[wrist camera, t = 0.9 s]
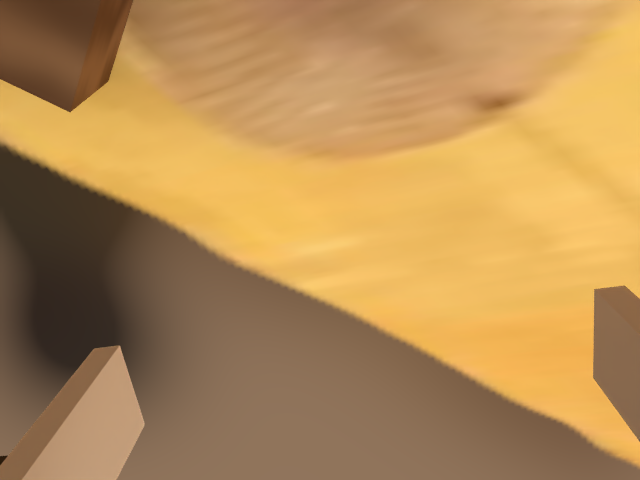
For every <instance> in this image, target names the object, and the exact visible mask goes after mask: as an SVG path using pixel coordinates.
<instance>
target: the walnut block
mask: <svg viewBox="0 0 640 480" xmlns="http://www.w3.org/2000/svg"><path fill="white" fill-rule="evenodd" d="M132 2H133V0H0V79H1V80H4V81H6V82H8V83H10V84H12V85H14V86H16V87H18V88H20V89H22V90H25V91H27V92H29V93H31V94H33V95H35V96H37V97H39V98H41V99H43V100H46V101H48V102H50V103H52V104H54V105H56V106H58V107H60V108H62V109H64V110H67V111H69V112H71V111H72V110H73V109H75V108H76V107H77V106H78V105H80V104H81V103H82V102H83V101H85V100H86V99H87V98H88V97H89V96H91V95H92V94H93V93H94V92H96V91H97V90H98V89H99V88H101V87H102V86H103V85H104V84H105V83H107V82H108V80H109V77H110V74H111V70H112V67H113V64H114V61H115V57H116V54H117V51H118V48H119V44H120V41H121V38H122V34H123V31H124V28H125V25H126V21H127V18H128V15H129V11H130V8H131V5H132Z"/></svg>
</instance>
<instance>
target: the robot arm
mask: <svg viewBox="0 0 640 480" xmlns="http://www.w3.org/2000/svg"><path fill="white" fill-rule="evenodd" d="M593 378H594V379H595V381H596V382H597V384H598V385H599V386H600V388H601V389H602V390H603V392H604V393H605V395H606V396H607V397H608V399H609V400H610V401H611V403H612V404H613V406H614V407H615V408H616V410H617V411H618V412H619V414H620V415H621V417H622V418H623V419H624V421H625V422H626V423H627V425H628V426H629V427H630V429H631V430H632V432H633V433H634V434H635V436H636V437H637V438H638V440H639V441H640V299H639V298H638V297H637V296H636V295H635V294H633V293H632V292H631V291H630V290H629V289H628V288H627V287H626V286H618V287H609V288H601V289H594V362H593ZM143 427H144V420H143V417H142V414H141V411H140V408H139V405H138V402H137V399H136V396H135V392H134V390H133V386H132V383H131V380H130V377H129V374H128V370H127V367H126V364H125V361H124V358H123V355H122V352H121V349H120V346H112V347H103V348H95V349H93V351H92V352H91V353H90V354H89V356H88V357H87V358H86V359H85V361H84V362H83V363H82V364H81V366H80V367H79V368H78V369H77V371H76V372H75V373H74V374H73V376H72V377H71V378H70V379H69V381H68V382H67V383H66V384H65V385H64V387H63V388H62V390H61V391H60V392H59V393H58V394H57V395H56V397H55V398H54V399H53V400H52V402H51V403H50V404H49V405H48V407H47V408H46V409H45V411H44V412H43V413H42V414H41V415H40V417H39V418H38V419H37V420H36V422H35V423H34V424H33V425H32V427H31V428H30V429H29V430H28V432H27V433H26V434H25V435H24V437H23V438H22V439H21V440H20V442H19V443H18V444H17V445H16V447H15V448H14V449H13V451H12V452H11V453H10V454H9V455H8V456H0V480H116V479H117V477H118V475H119V473H120V471H121V470H122V467H123V466H124V464H125V462H126V460H127V458H128V456H129V454H130V452H131V450H132V448H133V446H134V444H135V442H136V440H137V439H138V437H139V435H140V433H141V431H142V429H143Z"/></svg>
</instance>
